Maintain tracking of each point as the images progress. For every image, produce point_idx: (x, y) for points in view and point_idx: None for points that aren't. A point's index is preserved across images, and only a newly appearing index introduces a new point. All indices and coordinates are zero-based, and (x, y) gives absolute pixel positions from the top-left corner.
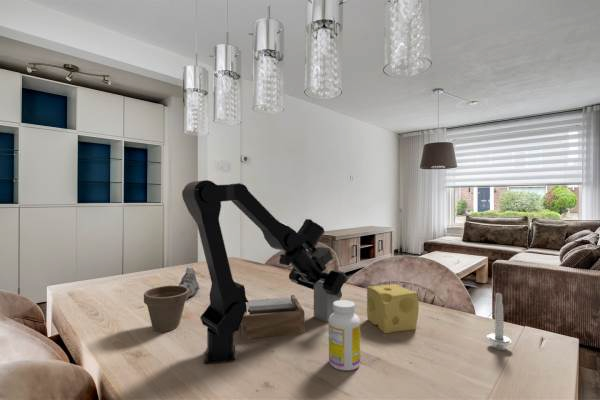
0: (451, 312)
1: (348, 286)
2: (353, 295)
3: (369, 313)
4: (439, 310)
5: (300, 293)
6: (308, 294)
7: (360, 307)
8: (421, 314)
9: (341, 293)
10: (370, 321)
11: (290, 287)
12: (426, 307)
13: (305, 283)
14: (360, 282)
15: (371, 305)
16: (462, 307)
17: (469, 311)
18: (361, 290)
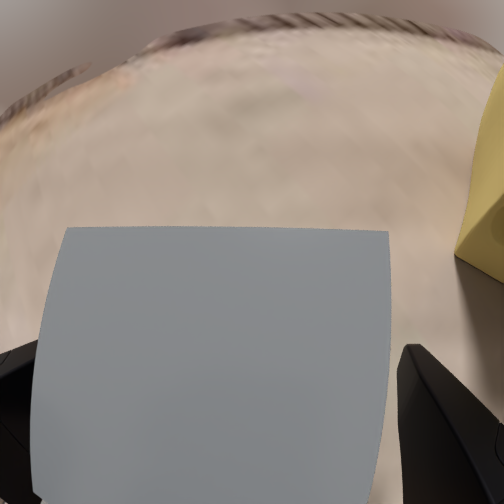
0: (493, 63)
1: (154, 62)
2: (209, 87)
3: (490, 251)
4: (475, 61)
5: (36, 217)
6: (59, 202)
7: (321, 151)
8: (487, 98)
9: (439, 367)
10: (478, 268)
11: (6, 202)
12: (447, 55)
13: (24, 488)
14: (173, 33)
15: (501, 210)
16: (473, 36)
17: (496, 49)
18: (208, 52)
